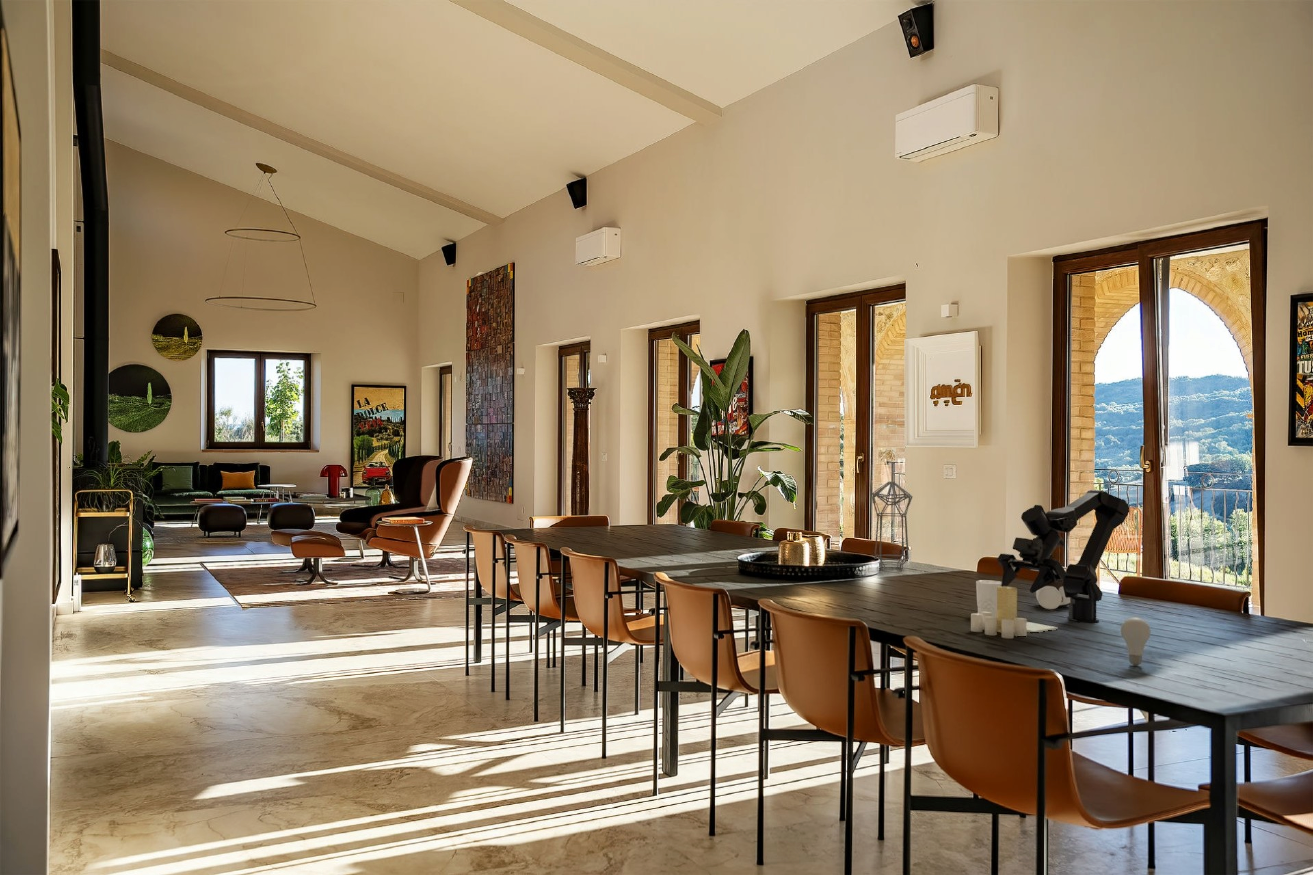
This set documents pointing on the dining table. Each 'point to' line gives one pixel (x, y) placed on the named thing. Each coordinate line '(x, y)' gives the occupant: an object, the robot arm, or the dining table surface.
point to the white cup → (987, 596)
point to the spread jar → (1052, 596)
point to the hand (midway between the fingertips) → (1016, 589)
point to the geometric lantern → (907, 495)
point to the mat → (1039, 627)
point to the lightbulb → (1135, 638)
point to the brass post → (1006, 604)
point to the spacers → (990, 625)
